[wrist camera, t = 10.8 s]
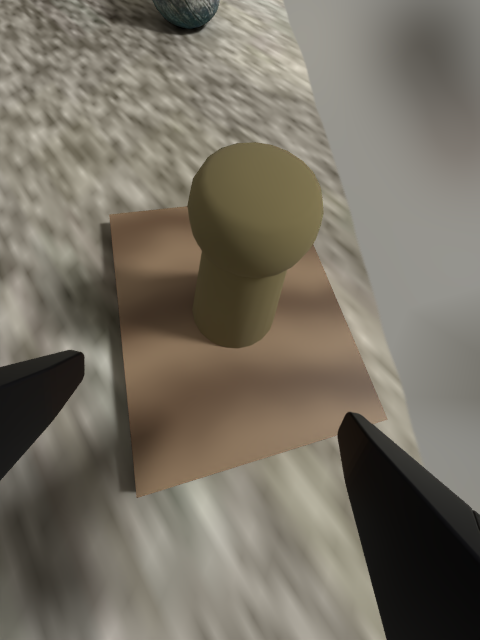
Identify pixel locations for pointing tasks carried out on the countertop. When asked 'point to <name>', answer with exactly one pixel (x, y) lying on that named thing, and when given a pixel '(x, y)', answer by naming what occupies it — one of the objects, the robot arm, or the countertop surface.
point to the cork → (249, 236)
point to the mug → (187, 11)
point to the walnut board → (224, 362)
